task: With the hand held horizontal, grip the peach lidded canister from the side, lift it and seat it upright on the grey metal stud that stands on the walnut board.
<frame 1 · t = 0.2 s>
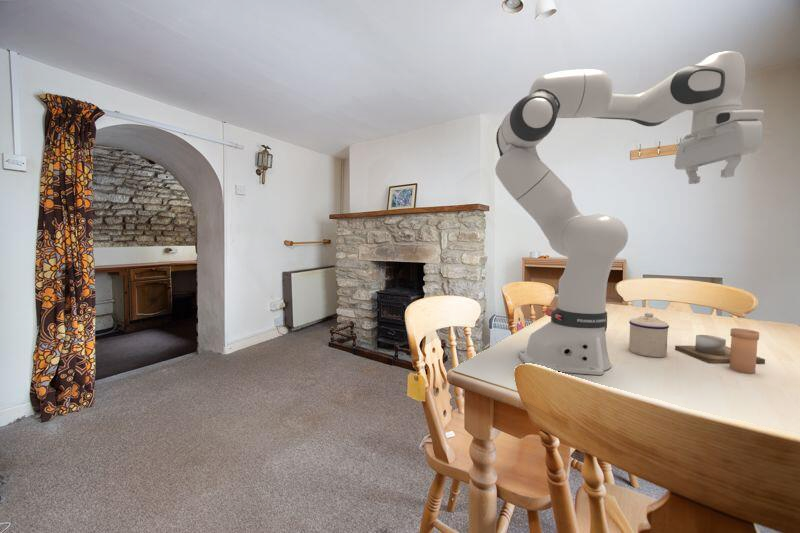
hand: (709, 180, 81), 48 cm above the table, tool pointing down, fingers open, 8 cm apart
teacup with lid: (643, 351, 94), on the table
peach lidded canister: (742, 370, 79), on the table
stud board: (716, 356, 89), on the table
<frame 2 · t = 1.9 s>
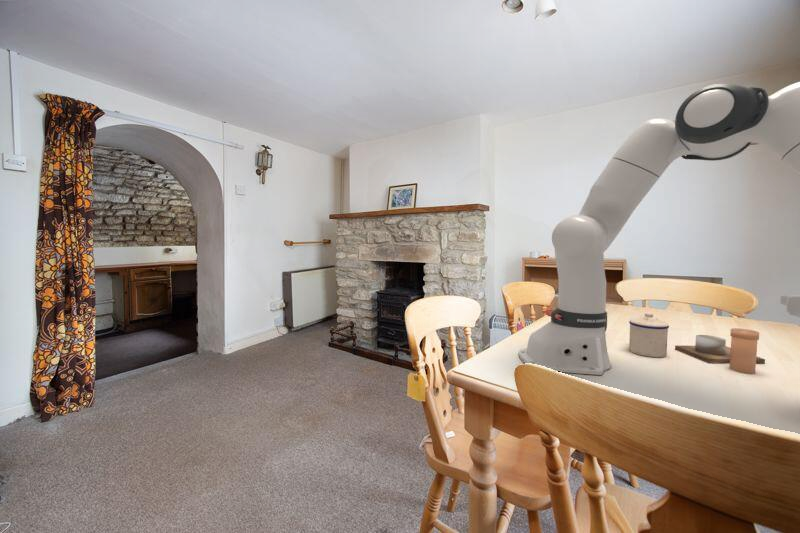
nothing on the table moved.
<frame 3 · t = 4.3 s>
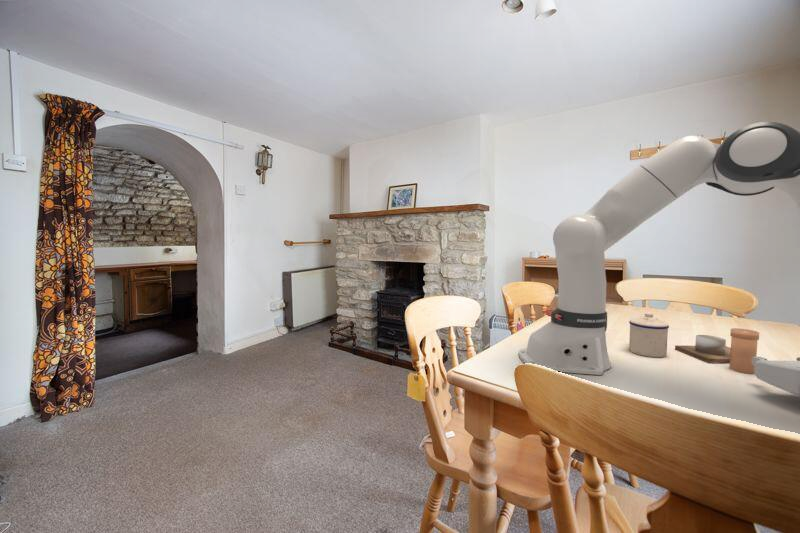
hand: (777, 360, 71), 5 cm above the table, tool horizontal, fingers open, 8 cm apart
nothing on the table moved.
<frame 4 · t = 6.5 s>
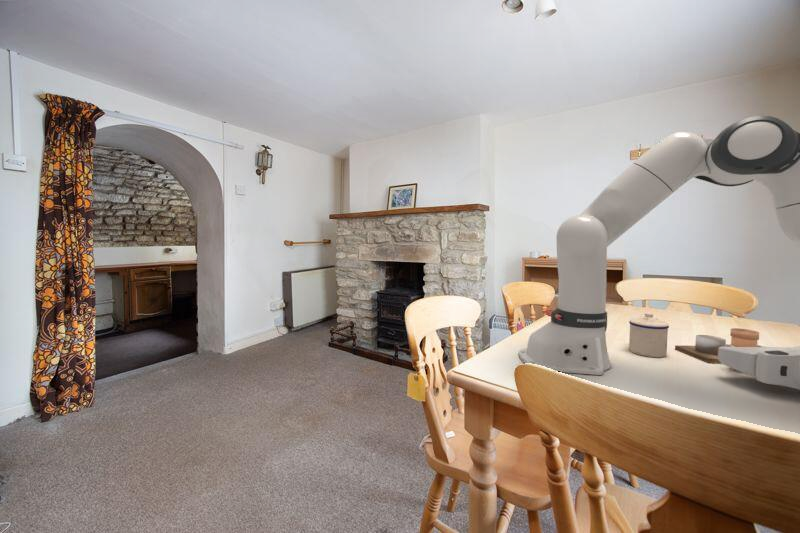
hand: (739, 347, 80), 6 cm above the table, tool horizontal, fingers closed on peach lidded canister, 4 cm apart
peach lidded canister: (742, 370, 79), on the table, touching gripper
everything else where it was.
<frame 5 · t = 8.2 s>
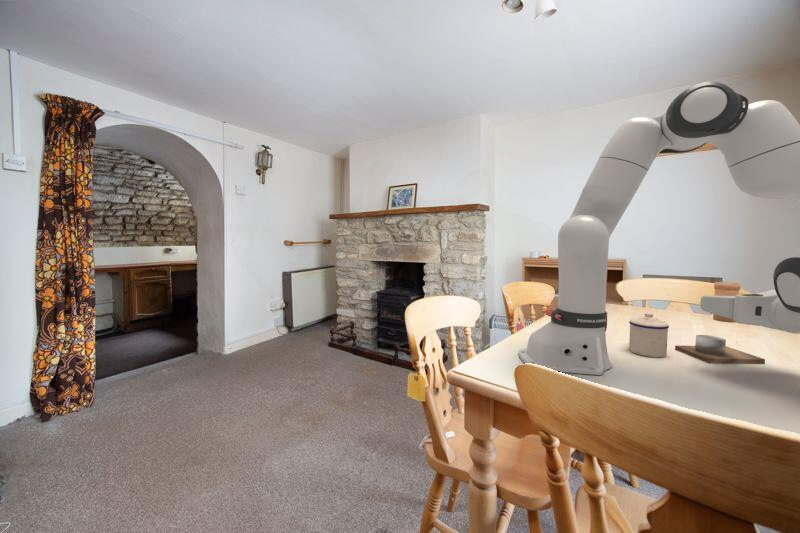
hand: (722, 299, 85), 17 cm above the table, tool horizontal, fingers closed on peach lidded canister, 4 cm apart
peach lidded canister: (724, 320, 84), point 11 cm above the table, touching gripper
everything else where it was.
when the fingers open (12 cm above the table, at t = 10.0 s): peach lidded canister drops 1 cm, resting on stud board.
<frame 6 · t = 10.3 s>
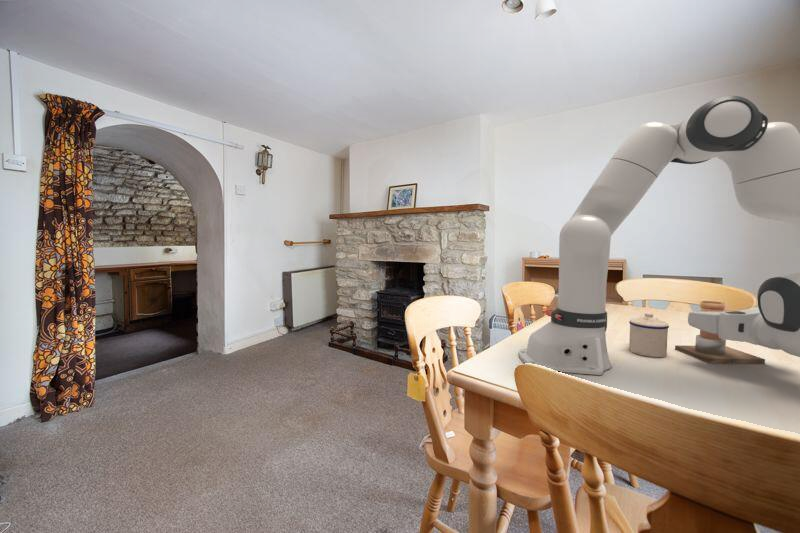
hand: (709, 313, 89), 12 cm above the table, tool horizontal, fingers open, 7 cm apart
peach lidded canister: (710, 337, 89), point 5 cm above the table, touching stud board
everything else where it was.
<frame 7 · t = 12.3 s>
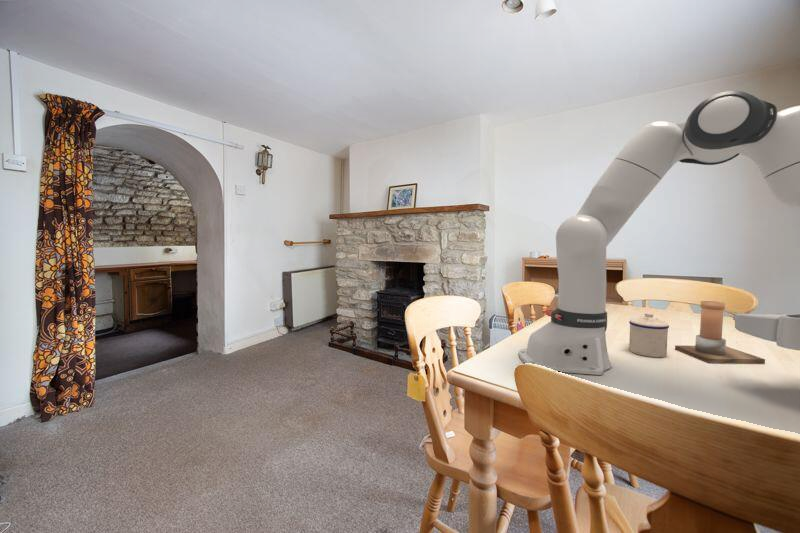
hand: (756, 316, 76), 14 cm above the table, tool horizontal, fingers open, 8 cm apart
nothing on the table moved.
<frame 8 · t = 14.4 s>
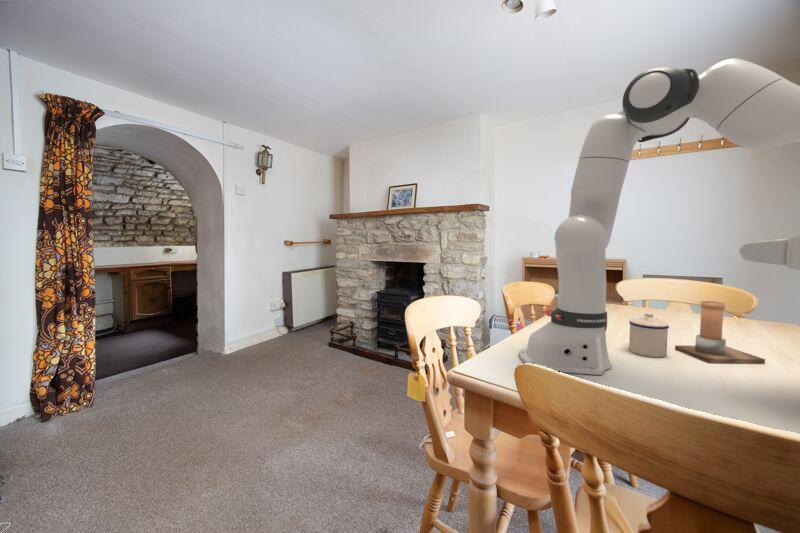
hand: (764, 250, 73), 30 cm above the table, tool horizontal, fingers open, 8 cm apart
nothing on the table moved.
at the end: peach lidded canister 0.0 cm from the target spot on the stud board, point 5.2 cm above the stud board's base; peach lidded canister tilted 0°; the gripper is holding nothing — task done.
